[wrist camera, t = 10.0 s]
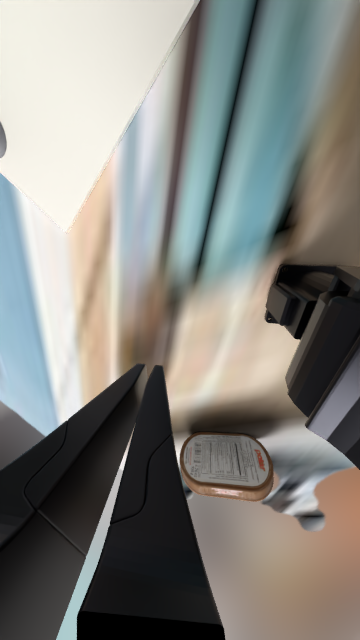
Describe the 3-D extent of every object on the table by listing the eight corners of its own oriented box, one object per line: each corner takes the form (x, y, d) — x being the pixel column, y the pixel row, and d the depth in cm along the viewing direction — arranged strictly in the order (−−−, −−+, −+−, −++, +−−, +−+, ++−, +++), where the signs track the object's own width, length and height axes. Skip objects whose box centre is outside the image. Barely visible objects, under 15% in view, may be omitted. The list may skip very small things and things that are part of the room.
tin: (183, 437, 34) (178, 495, 27) (181, 428, 33) (174, 486, 25) (263, 441, 31) (282, 506, 24) (264, 431, 30) (284, 497, 23)
